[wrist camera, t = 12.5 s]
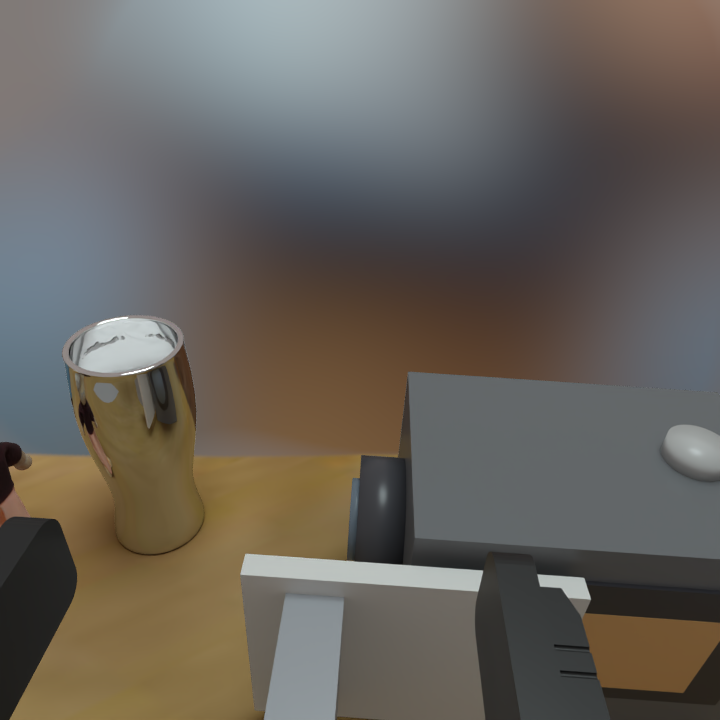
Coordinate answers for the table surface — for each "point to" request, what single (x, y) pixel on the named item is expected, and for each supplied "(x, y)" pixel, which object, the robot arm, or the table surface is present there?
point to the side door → (367, 638)
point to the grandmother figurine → (3, 498)
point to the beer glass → (139, 425)
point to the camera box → (569, 515)
